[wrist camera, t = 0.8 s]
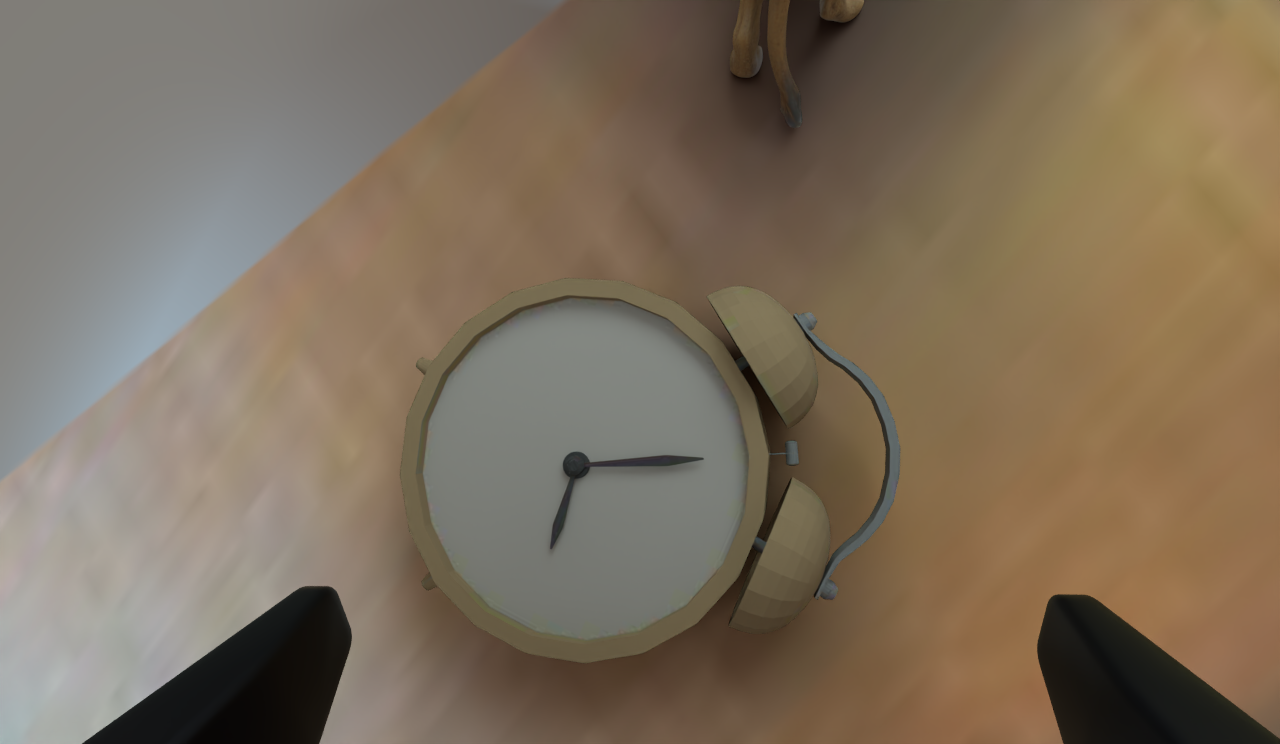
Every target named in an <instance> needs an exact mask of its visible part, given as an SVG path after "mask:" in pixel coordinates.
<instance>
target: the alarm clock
mask: <svg viewBox="0 0 1280 744" xmlns="http://www.w3.org/2000/svg"><path fill="white" fill-rule="evenodd" d="M707 298H708V300H709V302H710V303H711V305H712V307H713V308H714V310H715V312H716V313H717V315H718V317H719V318H720V320H721V322H722V323H723V325H724V326H725V328H726V330H727V331H728V333H729V335H730V336H731V338H732V339H733V341H734V343H735V344H736V346H737V348H738V349H739V351H740V353H741V354H742V357H741V358H739V359H738V360H736V361H735V360H734V359H733V357H732V355H731V354H730V352H729V351H728V350H727V348H726V347H725V345H724V343H723V342H722V341H721V340H720V339H719V338H718V337H716V336H715V335H714V334H713V333H712V332H711V331H709V330H708V329H707V328H706V327H705V326H703V325H702V324H701V323H700V322H699V321H698V320H696V319H695V318H694V317H693V316H692V315H691V314H689V313H688V312H687V311H686V310H685V309H683V308H682V307H681V306H680V305H679V304H678V303H676V302H674V301H671V300H669V299H666V298H664V297H661V296H659V295H656V294H654V293H651V292H649V291H646V290H644V289H641V288H639V287H636V286H634V285H631V284H629V283H626V282H624V281H611V280H594V279H576V278H564V279H560V280H556V281H553V282H549V283H545V284H542V285H538V286H534V287H530V288H527V289H523V290H519V291H515V292H512V293H510V294H509V295H507V296H506V297H504V298H503V299H501V300H499V301H498V302H496V303H495V304H493V305H492V306H490V307H489V308H487V309H486V310H484V311H482V312H481V313H479V314H478V315H476V316H475V317H473V318H472V319H470V320H468V321H467V322H465V323H464V325H463V326H462V327H461V328H460V329H459V331H458V332H457V333H456V334H455V335H454V337H453V338H452V339H451V340H450V341H449V343H448V344H447V345H446V346H445V347H444V348H443V350H442V351H441V352H440V353H439V354H438V356H437V357H436V358H435V359H434V360H433V361H431V360H428V359H425V358H420V359H419V360H418V361H417V363H416V367H417V368H418V369H419V370H420V371H421V372H422V373H423V374H424V375H425V376H424V379H423V381H422V383H421V386H420V388H419V390H418V393H417V395H416V397H415V400H414V402H413V404H412V407H411V409H410V411H409V414H408V416H407V419H406V428H405V436H404V444H403V453H402V461H401V469H400V478H401V484H402V490H403V496H404V502H405V508H406V514H407V520H408V526H409V532H410V534H411V536H412V538H413V540H414V542H415V544H416V546H417V548H418V550H419V552H420V554H421V556H422V558H423V560H424V562H425V564H426V566H427V568H428V570H429V573H428V574H427V576H426V577H425V578H424V579H423V580H422V586H423V587H424V588H425V589H426V590H431V589H433V588H435V587H437V586H438V587H439V588H440V589H441V590H442V591H443V592H444V593H445V594H446V596H447V597H448V598H449V599H450V600H451V601H452V602H453V603H454V604H455V605H456V606H457V607H458V608H459V609H460V610H461V611H462V612H463V613H464V615H465V616H466V617H467V618H468V619H469V620H470V621H471V622H472V623H473V624H474V625H475V626H477V627H478V628H480V629H482V630H484V631H486V632H488V633H490V634H491V635H493V636H495V637H497V638H499V639H501V640H502V641H504V642H506V643H508V644H510V645H512V646H514V647H515V648H517V649H519V650H521V651H523V652H525V653H527V654H533V655H538V656H544V657H550V658H556V659H562V660H568V661H573V662H579V663H589V662H595V661H601V660H607V659H613V658H619V657H625V656H631V655H637V654H643V653H645V652H647V651H649V650H650V649H652V648H654V647H656V646H658V645H659V644H661V643H663V642H665V641H667V640H668V639H670V638H672V637H674V636H676V635H677V634H679V633H681V632H683V631H685V630H686V629H688V628H690V627H692V626H694V625H695V624H697V623H698V622H699V621H700V620H701V618H702V617H703V616H704V615H705V614H706V613H707V612H708V611H709V610H710V608H711V607H712V606H713V605H714V604H715V603H716V602H717V601H718V600H719V598H720V597H721V596H722V595H723V594H724V593H725V592H726V591H727V590H728V588H729V587H730V586H731V585H732V584H733V583H734V582H735V581H736V579H737V578H738V577H739V575H740V572H741V570H742V568H743V565H744V563H745V561H746V558H747V556H748V554H749V551H750V549H751V547H752V548H754V549H755V550H757V551H758V552H757V555H756V557H755V559H754V562H753V564H752V566H751V569H750V571H749V574H748V576H747V578H746V581H745V583H744V586H743V588H742V591H741V593H740V596H739V598H738V600H737V603H736V606H735V608H734V611H733V613H732V616H731V619H730V622H729V627H732V628H734V629H737V630H739V631H743V632H748V633H752V634H765V633H769V632H773V631H776V630H778V629H780V628H782V627H784V626H786V625H787V624H788V623H790V622H791V621H792V620H794V619H795V617H796V616H797V615H798V614H799V613H800V612H801V611H802V610H803V609H804V608H805V607H806V605H807V604H808V603H809V601H810V600H811V598H812V597H813V595H814V597H815V599H817V600H818V598H819V596H821V597H822V598H823V599H830V600H833V599H834V598H835V596H836V594H837V592H838V588H837V586H836V585H835V583H834V582H833V581H831V580H830V579H829V577H830V576H831V574H832V573H833V571H834V570H835V568H836V567H837V565H838V563H839V562H840V561H841V560H843V559H844V558H845V557H846V556H848V555H849V554H850V553H852V552H853V551H854V550H856V549H857V548H858V547H859V546H861V545H862V544H863V543H864V542H866V541H867V540H868V539H869V538H870V537H871V536H872V534H873V533H874V532H875V531H876V530H877V528H878V527H879V526H880V525H881V524H882V523H883V521H884V519H885V517H886V515H887V513H888V511H889V509H890V507H891V505H892V503H893V502H894V497H895V493H896V488H897V484H898V479H899V472H900V445H899V440H898V435H897V431H896V426H895V422H894V419H893V417H892V414H891V412H890V410H889V407H888V405H887V402H886V400H885V398H884V396H883V394H882V393H881V392H880V390H879V389H878V388H877V387H876V385H875V384H874V383H873V381H872V380H871V379H870V377H869V376H867V375H866V374H865V373H864V372H863V371H862V370H861V369H859V368H858V367H857V366H856V365H855V364H854V363H852V362H850V361H849V360H847V359H845V358H844V357H842V356H840V355H839V354H838V353H836V352H835V351H834V350H832V349H831V348H830V347H828V346H827V345H826V344H825V343H823V342H822V341H821V340H820V339H819V338H818V337H817V336H815V335H814V334H813V333H812V332H811V331H810V330H812V329H813V328H814V327H815V325H816V323H817V320H816V318H815V317H814V316H813V314H812V313H811V312H810V313H803V314H801V315H799V316H798V314H797V313H795V314H794V317H792V316H791V315H790V313H789V312H788V311H787V310H786V309H785V308H784V307H783V306H781V305H780V304H779V303H778V302H777V301H776V300H774V299H773V298H772V297H770V296H769V295H767V294H765V293H764V292H762V291H760V290H757V289H754V288H750V287H744V286H735V287H728V288H724V289H721V290H718V291H716V292H714V293H712V294H710V295H708V296H707ZM807 339H808V340H809V341H810V342H811V344H812V345H813V346H814V347H815V348H816V350H818V351H819V352H820V353H821V354H822V355H823V356H824V357H825V358H826V359H827V360H829V361H830V362H832V363H833V364H835V365H837V366H838V367H840V368H842V369H843V370H844V371H845V372H846V373H848V374H849V375H850V376H851V377H852V378H853V379H854V380H856V381H857V382H858V383H859V385H860V386H861V387H862V389H863V390H864V391H865V393H866V394H867V395H868V397H869V398H870V399H871V401H872V404H873V406H874V409H875V411H876V413H877V416H878V418H879V421H880V423H881V427H882V432H883V437H884V441H885V446H886V462H885V476H884V480H883V485H882V489H881V494H880V498H879V500H878V502H877V504H876V506H875V508H874V510H873V511H872V513H871V515H870V517H869V518H868V519H867V521H866V522H865V523H864V524H863V525H862V527H861V528H860V529H859V530H858V531H857V533H855V534H854V535H853V536H852V537H850V538H849V539H848V540H847V541H846V542H844V543H843V544H842V545H841V546H840V547H839V548H838V549H837V550H836V551H835V552H834V553H833V554H832V556H831V558H830V560H829V562H828V564H827V560H828V556H829V549H830V524H829V518H828V515H827V512H826V509H825V507H824V505H823V503H822V501H821V499H820V498H819V497H818V496H817V495H816V494H815V493H814V491H813V490H811V489H810V488H809V487H807V486H806V485H805V484H804V483H802V482H800V481H798V480H796V479H795V478H793V477H792V478H791V479H790V481H789V483H788V485H787V487H786V489H785V492H784V494H783V496H782V498H781V500H780V502H779V504H778V507H777V509H776V511H775V513H774V516H773V518H772V520H771V522H770V525H769V527H768V529H767V531H766V534H765V536H764V538H763V540H761V539H760V538H758V537H757V536H756V535H757V533H758V530H759V528H760V526H761V523H762V521H763V519H764V513H765V511H766V506H767V494H768V483H769V471H770V459H771V455H775V454H786V462H787V465H790V466H795V465H798V464H799V459H798V447H797V442H796V441H787V442H785V448H786V453H771V451H770V447H769V442H768V438H767V434H766V430H765V425H764V421H763V417H762V413H761V408H760V404H759V400H758V398H757V396H756V395H755V393H754V391H753V390H752V388H751V386H750V385H749V383H748V382H747V380H746V378H745V377H744V375H743V373H742V372H741V370H743V369H744V368H746V367H748V366H749V367H750V369H751V370H752V372H753V374H754V375H755V377H756V378H757V380H758V382H759V383H760V385H761V386H762V388H763V390H764V391H765V393H766V394H767V396H768V398H769V399H770V401H771V402H772V404H773V406H774V407H775V409H776V410H777V412H778V414H779V415H780V417H781V418H782V420H783V421H784V423H785V425H786V426H787V428H788V429H789V428H791V427H792V426H794V425H795V424H797V423H798V422H799V421H800V420H801V419H802V418H803V417H804V416H805V415H806V414H807V413H808V411H809V410H810V408H811V407H812V405H813V403H814V400H815V397H816V393H817V388H818V374H817V369H816V363H815V359H814V356H813V353H812V349H811V347H810V345H809V343H808V341H807ZM826 564H827V566H826Z"/></svg>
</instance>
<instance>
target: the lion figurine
mask: <svg viewBox="0 0 1280 744" xmlns="http://www.w3.org/2000/svg"><path fill="white" fill-rule="evenodd" d="M762 3H763V0H740V6H739V12H738V18H737V24H736V27H735V30H734V33H733V47H734V49H733V50H732V52H731V55H730V69H731V72H732V73H733V74H735V75H736V76H738V77H743V78H749V77H752V76H754V75H756V74H757V72H758V71H759V69H760V67H761V64H762V60H763V52H762V48H761V47H760V46H759V45H758V42H759V36H760V17H761V10H762ZM789 3H790V0H769V10H768V34H767V43H768V52H769V57H770V61H771V66H772V69H773V73H774V76H775V80H776V82H777V84H778V87H779V90H780V95H781V107H780V108H781V112H782V113H783V115H784V117H785V121H786V123H787V124H788V125H789V126H790V127H792V128H798V127H800V126H801V124H802V112H801V96H800V91H799V89H798V88H797V86H796V84H795V83H794V81H793V78H792V76H791V73H790V69H789V66H788V62H787V55H786V25H787V15H788V8H789ZM863 4H864V0H820V4H819V6H820V16H821V17H822V18H824V19H825V20H831V21H836V22H847V21H850V20H852V19H853V18H854V17H856V16H857V15H858V14H859V12H860V11H861V9H862V7H863Z"/></svg>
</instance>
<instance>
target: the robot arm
mask: <svg viewBox="0 0 1280 744" xmlns="http://www.w3.org/2000/svg"><path fill="white" fill-rule="evenodd" d="M351 641H352V634H351V628H350V625H349V622H348V620H347V617H346V614H345V612H344V609H343V606H342V604H341V601H340V598H339V596H338V594H337V592H336V591H335V590H334V589H333V588H332V587H329V586H305V587H302V588H299V589H298V590H296V591H295V592H293V593H292V594H290V595H289V596H288V597H286V598H285V599H283V600H282V601H281V602H279V603H278V604H276V605H275V606H274V607H272V608H271V609H269V610H268V611H267V612H265V613H264V614H262V615H261V616H260V617H258V618H257V619H255V620H254V621H253V622H251V623H250V624H248V625H247V626H246V627H244V628H243V629H241V630H240V631H239V632H237V633H236V634H234V635H233V636H232V637H230V638H229V639H228V640H226V641H225V642H223V643H222V644H221V645H219V646H218V647H216V648H215V649H214V650H212V651H211V652H209V653H208V654H207V655H205V656H204V657H202V658H201V659H200V660H198V661H197V662H195V663H194V664H193V665H191V666H190V667H188V668H187V669H186V670H184V671H183V672H181V673H180V674H179V675H177V676H176V677H174V678H173V679H172V680H170V681H169V682H167V683H166V684H165V685H163V686H162V687H161V688H159V689H158V690H156V691H155V692H154V693H152V694H151V695H149V696H148V697H147V698H145V699H144V700H142V701H141V702H140V703H138V704H137V705H135V706H134V707H133V708H131V709H130V710H128V711H127V712H126V713H124V714H123V715H121V716H120V717H119V718H117V719H116V720H114V721H113V722H112V723H110V724H109V725H107V726H106V727H105V728H103V729H102V730H100V731H99V732H98V733H96V734H95V735H93V736H92V737H91V738H89V739H88V740H86V741H85V742H84V743H82V744H319V743H320V740H321V737H322V734H323V731H324V728H325V724H326V721H327V718H328V715H329V712H330V709H331V706H332V703H333V700H334V697H335V694H336V691H337V687H338V684H339V681H340V678H341V675H342V672H343V669H344V666H345V663H346V660H347V657H348V654H349V650H350V647H351ZM1037 652H1038V659H1039V664H1040V667H1041V671H1042V674H1043V677H1044V680H1045V684H1046V687H1047V690H1048V694H1049V697H1050V700H1051V704H1052V707H1053V710H1054V714H1055V717H1056V720H1057V724H1058V727H1059V730H1060V734H1061V737H1062V740H1063V743H1064V744H1280V739H1279V738H1278V737H1276V736H1275V735H1274V734H1273V733H1271V732H1270V731H1269V730H1267V729H1266V728H1265V727H1263V726H1262V725H1261V724H1259V723H1258V722H1257V721H1255V720H1254V719H1253V718H1251V717H1250V716H1249V715H1248V714H1246V713H1245V712H1244V711H1242V710H1241V709H1240V708H1238V707H1237V706H1236V705H1234V704H1233V703H1232V702H1230V701H1229V700H1228V699H1227V698H1225V697H1224V696H1223V695H1221V694H1220V693H1219V692H1217V691H1216V690H1215V689H1213V688H1212V687H1211V686H1209V685H1208V684H1207V683H1205V682H1204V681H1203V680H1202V679H1200V678H1199V677H1198V676H1196V675H1195V674H1194V673H1192V672H1191V671H1190V670H1188V669H1187V668H1186V667H1184V666H1183V665H1182V664H1180V663H1179V662H1178V661H1177V660H1175V659H1174V658H1173V657H1171V656H1170V655H1169V654H1167V653H1166V652H1165V651H1163V650H1162V649H1161V648H1159V647H1158V646H1157V645H1156V644H1154V643H1153V642H1152V641H1150V640H1149V639H1148V638H1146V637H1145V636H1144V635H1142V634H1141V633H1140V632H1138V631H1137V630H1136V629H1134V628H1133V627H1132V626H1131V625H1129V624H1128V623H1127V622H1125V621H1124V620H1123V619H1121V618H1120V617H1119V616H1117V615H1116V614H1115V613H1113V612H1112V611H1111V610H1110V609H1108V608H1107V607H1106V606H1104V605H1103V604H1102V603H1100V602H1099V601H1098V600H1096V599H1095V598H1093V597H1091V596H1088V595H1062V594H1058V595H1054V596H1052V597H1051V598H1050V600H1049V602H1048V604H1047V608H1046V612H1045V615H1044V619H1043V623H1042V627H1041V631H1040V635H1039V639H1038V644H1037Z"/></svg>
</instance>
